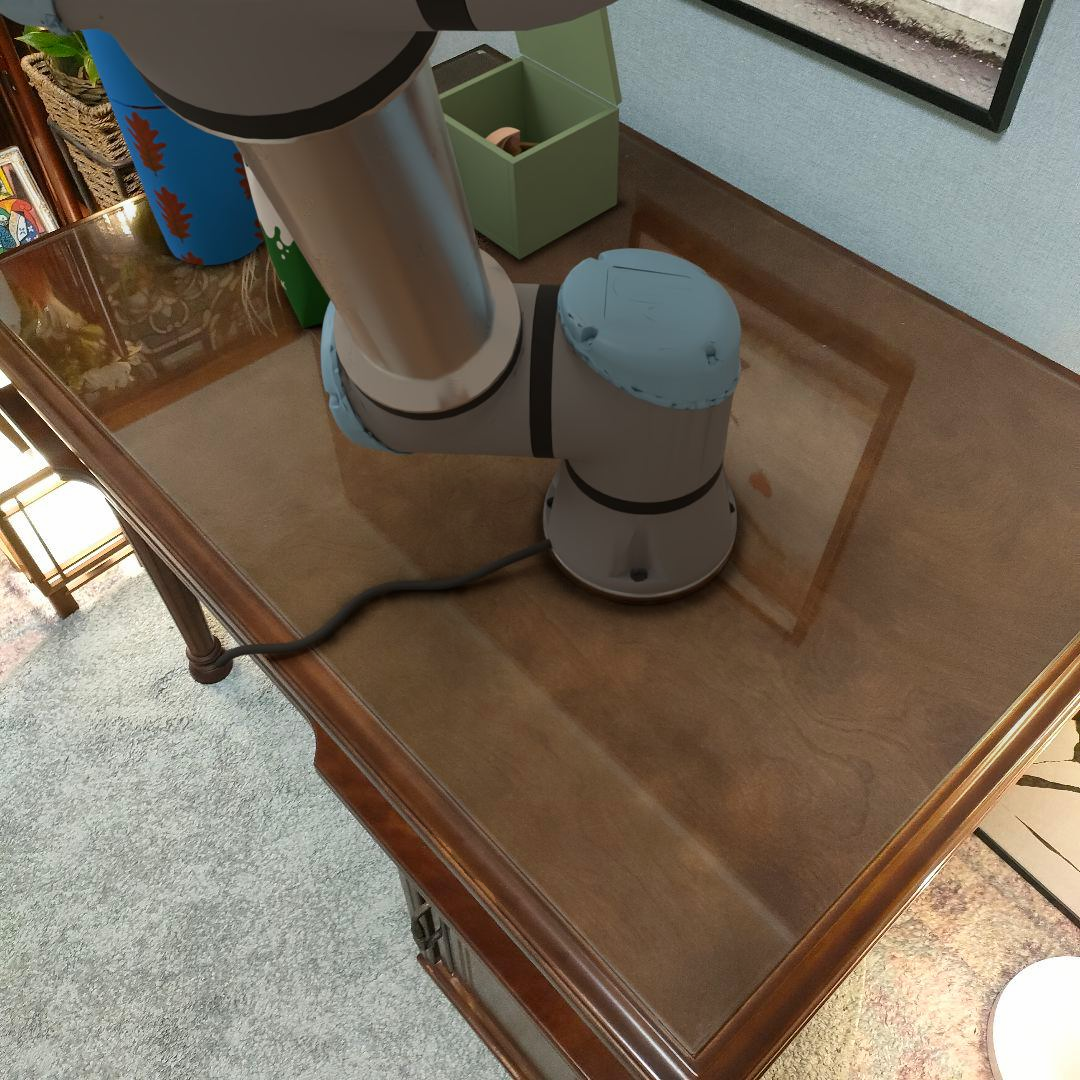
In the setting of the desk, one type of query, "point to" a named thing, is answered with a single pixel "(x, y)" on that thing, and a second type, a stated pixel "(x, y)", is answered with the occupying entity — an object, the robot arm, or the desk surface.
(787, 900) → the desk surface
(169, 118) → the thermos
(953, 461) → the desk surface
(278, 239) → the milk carton
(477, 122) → the chest
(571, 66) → the lid
